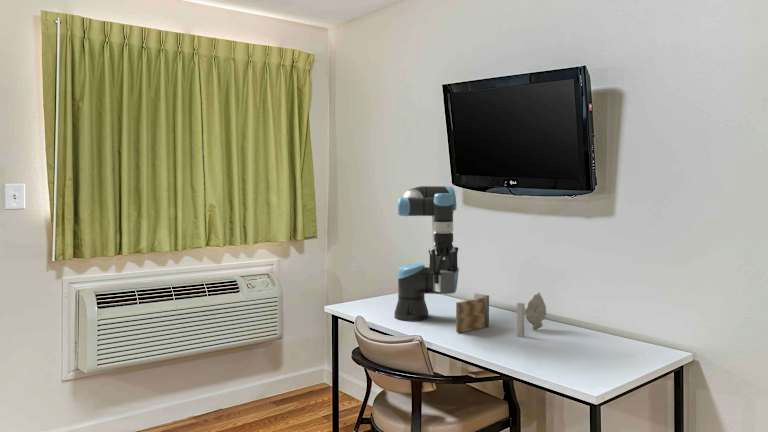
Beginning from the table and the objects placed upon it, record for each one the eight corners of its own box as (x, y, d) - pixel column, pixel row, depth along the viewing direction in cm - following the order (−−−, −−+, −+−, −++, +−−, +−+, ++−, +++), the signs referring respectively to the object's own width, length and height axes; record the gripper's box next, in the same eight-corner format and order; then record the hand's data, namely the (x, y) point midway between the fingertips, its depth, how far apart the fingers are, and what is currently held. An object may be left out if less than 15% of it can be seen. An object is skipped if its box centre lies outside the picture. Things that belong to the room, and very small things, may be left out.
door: (480, 325, 246) (480, 297, 245) (484, 326, 244) (484, 298, 243) (454, 331, 237) (454, 302, 236) (458, 332, 235) (458, 303, 234)
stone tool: (529, 332, 235) (529, 295, 234) (522, 330, 239) (523, 294, 237) (549, 329, 241) (550, 292, 240) (543, 327, 244) (543, 291, 243)
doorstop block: (433, 291, 236) (433, 271, 236) (442, 289, 239) (442, 270, 239) (444, 293, 231) (444, 273, 230) (454, 292, 233) (454, 272, 233)
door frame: (473, 323, 250) (474, 293, 249) (477, 323, 251) (477, 292, 250) (521, 337, 229) (521, 304, 228) (524, 336, 231) (525, 303, 230)
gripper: (431, 234, 225) (431, 294, 227) (467, 231, 236) (467, 289, 237) (419, 232, 232) (419, 291, 233) (454, 230, 242) (454, 287, 243)
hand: (443, 290), depth 235 cm, fingers closed on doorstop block, 5 cm apart
